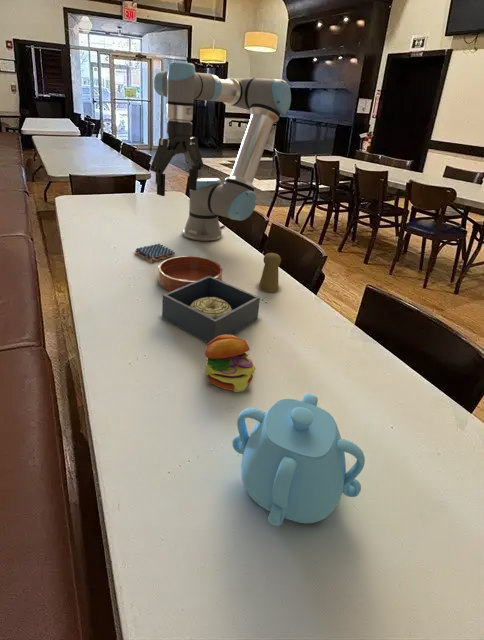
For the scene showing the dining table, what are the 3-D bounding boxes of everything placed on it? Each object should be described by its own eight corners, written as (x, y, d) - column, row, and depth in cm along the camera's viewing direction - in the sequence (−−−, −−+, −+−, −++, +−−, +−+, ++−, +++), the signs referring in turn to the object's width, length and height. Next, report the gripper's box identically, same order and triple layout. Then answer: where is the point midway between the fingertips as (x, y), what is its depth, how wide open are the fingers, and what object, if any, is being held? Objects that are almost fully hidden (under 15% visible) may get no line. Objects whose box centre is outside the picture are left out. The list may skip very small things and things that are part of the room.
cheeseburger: (219, 401, 78) (216, 351, 77) (196, 379, 88) (193, 334, 86) (264, 387, 83) (262, 340, 81) (238, 367, 92) (235, 325, 91)
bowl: (189, 264, 139) (190, 251, 138) (233, 282, 128) (235, 269, 127) (145, 280, 125) (145, 266, 124) (190, 302, 114) (191, 288, 112)
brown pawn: (256, 289, 125) (260, 255, 121) (262, 281, 130) (266, 249, 126) (275, 293, 123) (280, 259, 119) (280, 286, 128) (285, 253, 124)
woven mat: (133, 253, 144) (133, 247, 144) (159, 247, 151) (159, 242, 150) (150, 263, 137) (150, 257, 137) (176, 256, 144) (176, 251, 143)
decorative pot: (224, 449, 68) (230, 382, 63) (312, 435, 73) (325, 371, 67) (257, 549, 54) (269, 472, 49) (365, 523, 58) (386, 450, 53)
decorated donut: (237, 314, 109) (239, 301, 108) (217, 332, 100) (218, 318, 99) (204, 302, 114) (205, 290, 112) (182, 318, 105) (182, 305, 103)
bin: (207, 296, 118) (209, 275, 116) (257, 319, 108) (260, 297, 106) (162, 317, 106) (162, 294, 103) (213, 346, 96) (215, 321, 93)
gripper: (155, 122, 109) (154, 200, 117) (217, 122, 127) (212, 189, 135) (137, 119, 113) (137, 195, 121) (199, 119, 132) (196, 185, 139)
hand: (177, 192), depth 128 cm, fingers open, 13 cm apart
